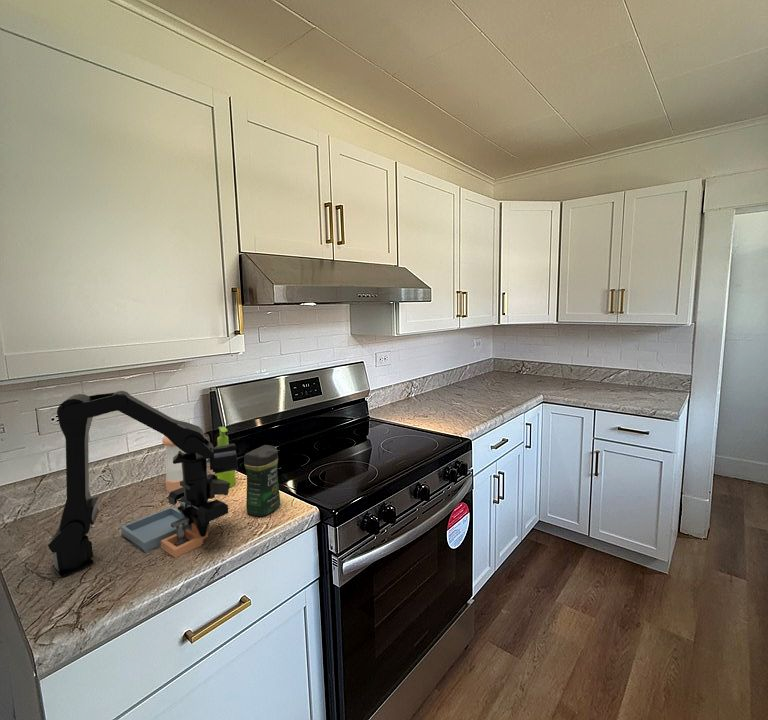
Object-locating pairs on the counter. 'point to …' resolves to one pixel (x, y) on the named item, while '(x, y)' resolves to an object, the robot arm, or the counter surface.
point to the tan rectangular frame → (186, 547)
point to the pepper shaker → (172, 466)
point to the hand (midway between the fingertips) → (199, 534)
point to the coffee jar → (262, 480)
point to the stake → (180, 530)
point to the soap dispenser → (223, 441)
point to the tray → (152, 529)
